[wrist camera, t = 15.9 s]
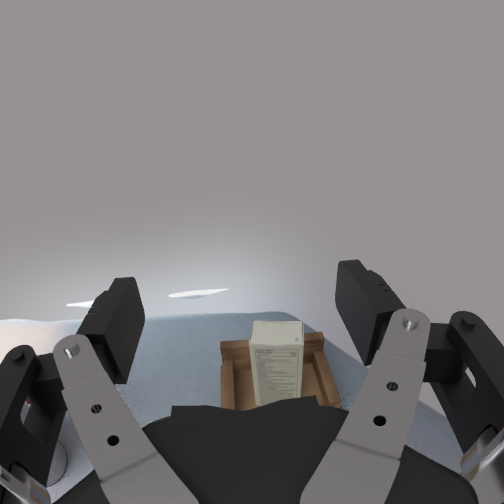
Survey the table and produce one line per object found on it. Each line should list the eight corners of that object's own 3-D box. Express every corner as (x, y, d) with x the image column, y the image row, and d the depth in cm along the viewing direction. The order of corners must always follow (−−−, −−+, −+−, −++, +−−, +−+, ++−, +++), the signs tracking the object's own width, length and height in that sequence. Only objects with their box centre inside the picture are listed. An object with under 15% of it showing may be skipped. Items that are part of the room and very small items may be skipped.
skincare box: (300, 384, 41) (305, 320, 36) (300, 408, 38) (305, 345, 32) (257, 383, 42) (253, 318, 37) (253, 406, 38) (248, 343, 33)
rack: (222, 444, 34) (216, 420, 31) (221, 369, 46) (217, 341, 44) (345, 428, 35) (353, 403, 32) (321, 359, 47) (325, 331, 45)
